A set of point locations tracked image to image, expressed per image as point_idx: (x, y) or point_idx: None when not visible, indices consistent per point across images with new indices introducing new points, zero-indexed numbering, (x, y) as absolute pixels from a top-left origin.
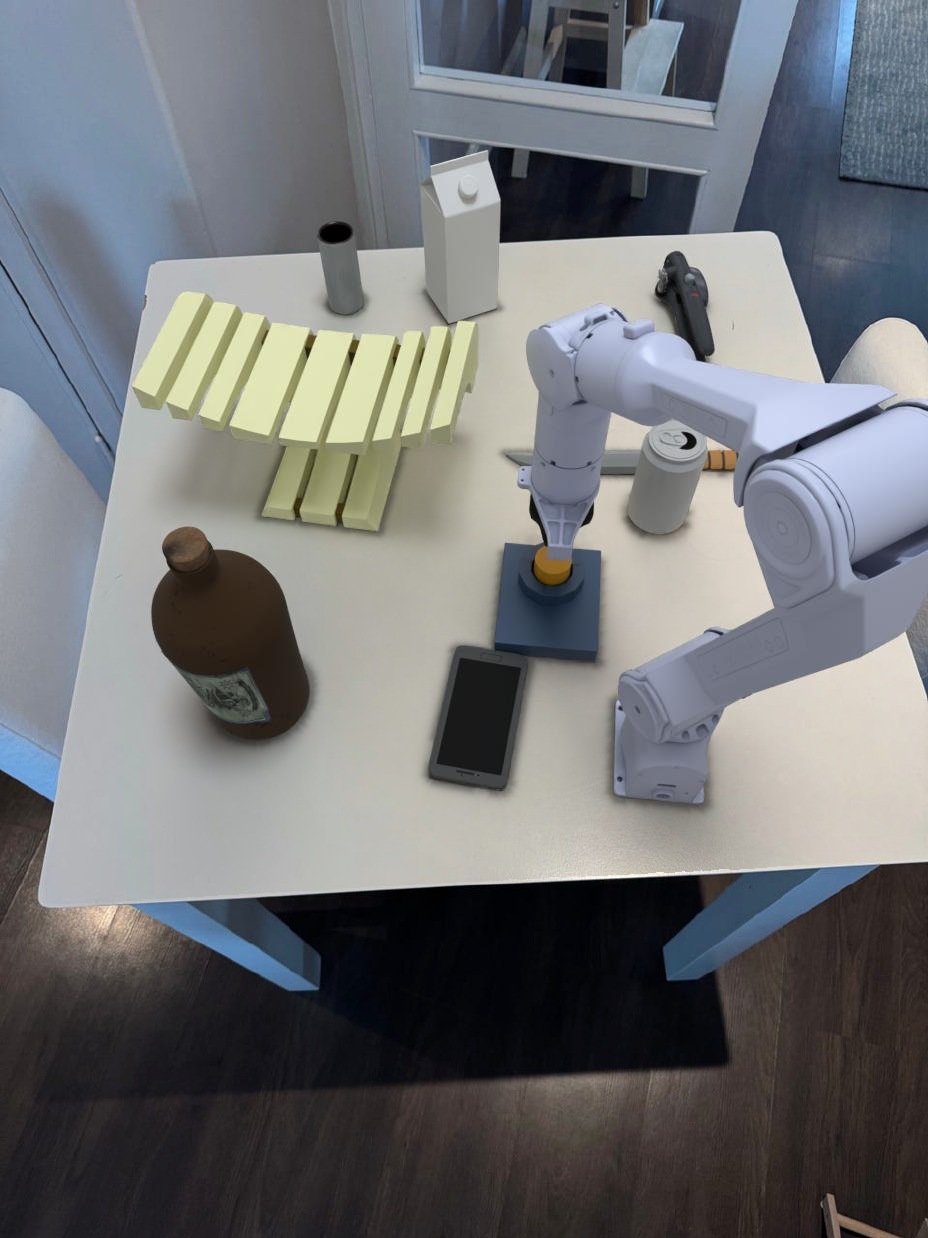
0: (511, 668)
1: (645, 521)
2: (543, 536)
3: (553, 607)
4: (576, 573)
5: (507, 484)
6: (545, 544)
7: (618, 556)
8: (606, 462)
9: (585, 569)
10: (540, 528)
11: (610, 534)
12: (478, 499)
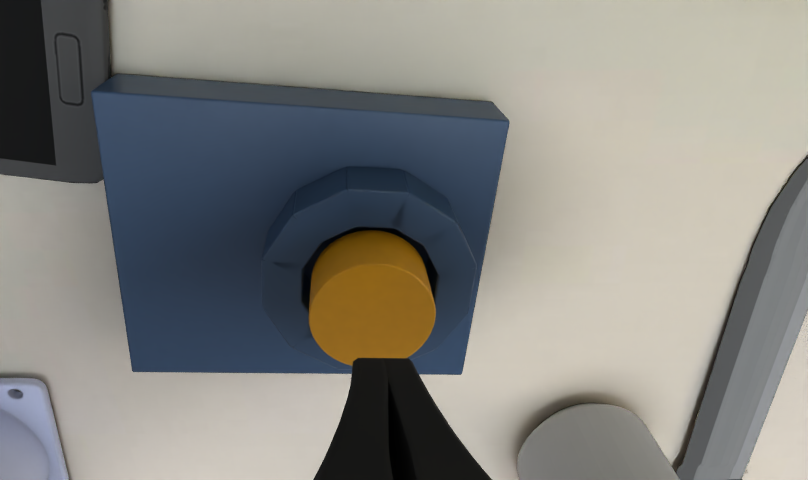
0: (45, 136)
1: (541, 458)
2: (344, 408)
3: (260, 267)
4: None
5: (756, 108)
6: (353, 368)
7: (467, 377)
8: (749, 358)
9: None
10: (317, 472)
11: (533, 362)
12: (723, 11)
